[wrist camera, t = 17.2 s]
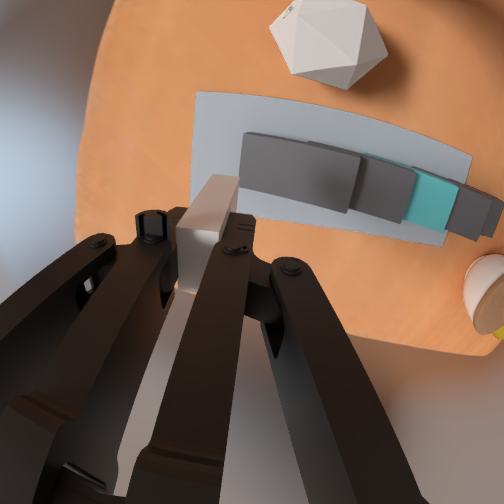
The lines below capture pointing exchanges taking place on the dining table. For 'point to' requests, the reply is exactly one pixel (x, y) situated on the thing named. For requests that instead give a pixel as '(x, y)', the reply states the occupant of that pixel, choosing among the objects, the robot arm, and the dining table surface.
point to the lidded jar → (485, 293)
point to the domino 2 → (380, 187)
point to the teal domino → (428, 199)
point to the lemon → (499, 333)
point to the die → (329, 40)
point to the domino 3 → (466, 211)
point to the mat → (318, 130)
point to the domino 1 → (298, 170)
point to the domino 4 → (489, 212)
